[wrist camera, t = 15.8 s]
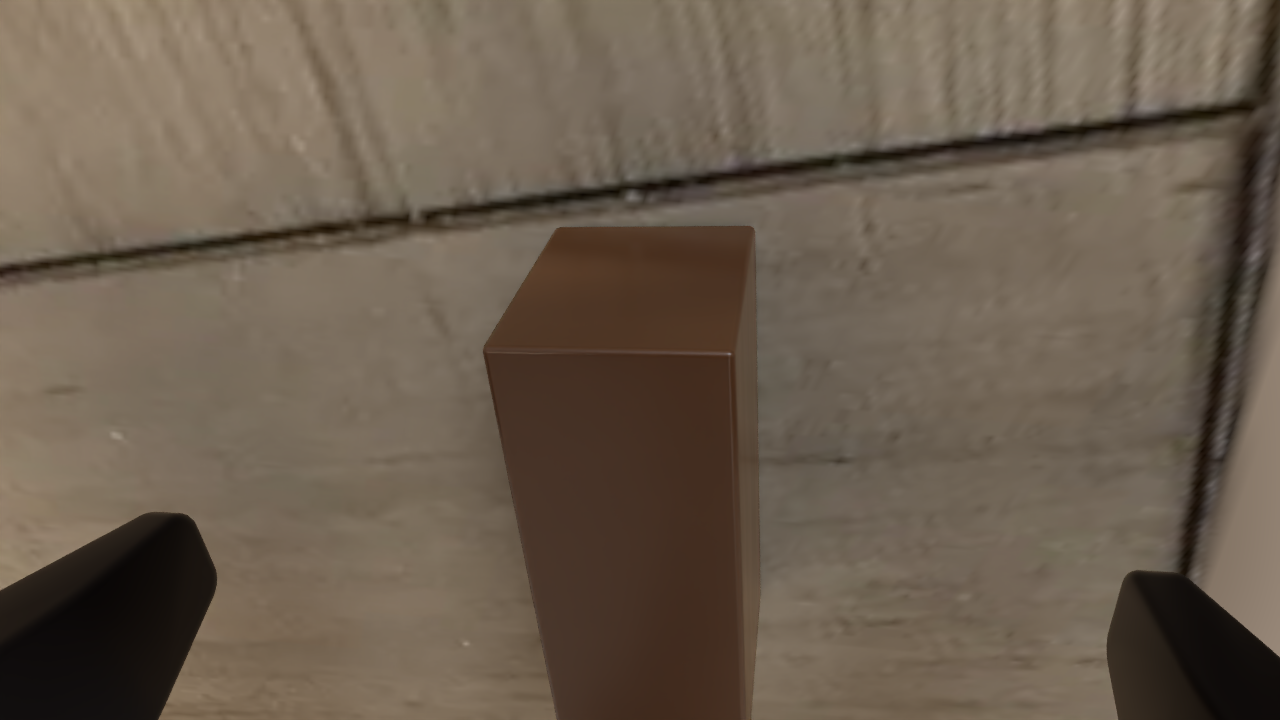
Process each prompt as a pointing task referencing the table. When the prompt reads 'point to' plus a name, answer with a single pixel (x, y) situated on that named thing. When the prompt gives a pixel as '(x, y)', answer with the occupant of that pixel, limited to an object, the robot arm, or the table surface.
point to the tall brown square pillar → (637, 466)
